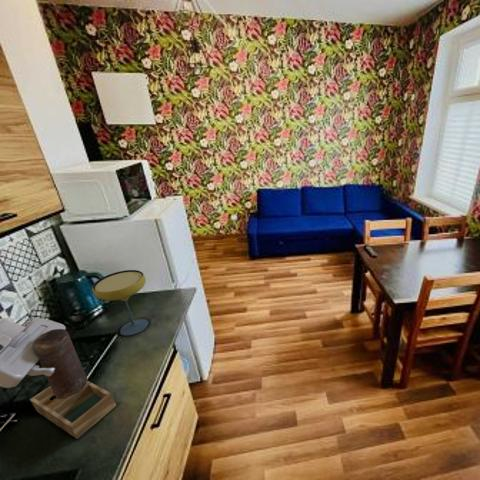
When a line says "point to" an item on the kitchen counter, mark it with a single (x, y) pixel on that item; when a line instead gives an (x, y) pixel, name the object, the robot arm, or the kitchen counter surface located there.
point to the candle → (60, 362)
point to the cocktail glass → (122, 294)
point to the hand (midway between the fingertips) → (62, 360)
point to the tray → (75, 408)
